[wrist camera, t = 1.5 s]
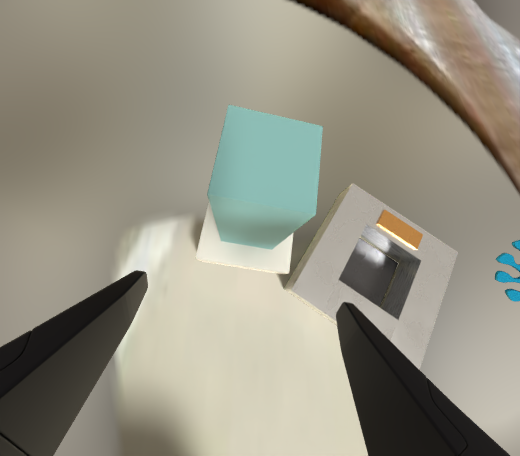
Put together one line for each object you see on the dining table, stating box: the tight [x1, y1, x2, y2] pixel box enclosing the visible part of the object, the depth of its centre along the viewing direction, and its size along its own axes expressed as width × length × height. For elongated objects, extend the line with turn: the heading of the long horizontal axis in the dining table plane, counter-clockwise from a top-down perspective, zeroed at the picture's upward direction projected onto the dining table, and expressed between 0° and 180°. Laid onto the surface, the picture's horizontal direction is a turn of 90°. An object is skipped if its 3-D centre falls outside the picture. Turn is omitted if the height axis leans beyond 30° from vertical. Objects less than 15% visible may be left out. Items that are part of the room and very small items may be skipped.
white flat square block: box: [196, 202, 293, 274], centre depth 22 cm, size 9×9×3 cm
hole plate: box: [284, 183, 458, 370], centre depth 22 cm, size 14×14×3 cm
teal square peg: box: [207, 105, 323, 250], centre depth 15 cm, size 5×5×11 cm
